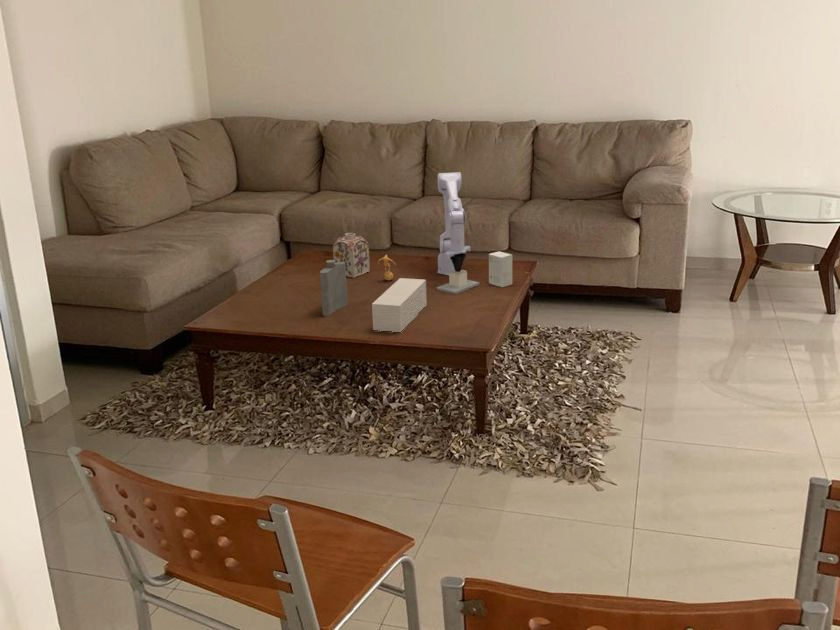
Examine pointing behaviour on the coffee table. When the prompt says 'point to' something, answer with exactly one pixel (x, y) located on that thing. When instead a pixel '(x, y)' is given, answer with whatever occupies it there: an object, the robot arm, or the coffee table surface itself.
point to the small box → (500, 269)
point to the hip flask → (333, 286)
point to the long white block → (399, 305)
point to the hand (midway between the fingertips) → (457, 271)
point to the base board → (456, 289)
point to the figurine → (388, 274)
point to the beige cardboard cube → (458, 278)
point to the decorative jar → (352, 254)
